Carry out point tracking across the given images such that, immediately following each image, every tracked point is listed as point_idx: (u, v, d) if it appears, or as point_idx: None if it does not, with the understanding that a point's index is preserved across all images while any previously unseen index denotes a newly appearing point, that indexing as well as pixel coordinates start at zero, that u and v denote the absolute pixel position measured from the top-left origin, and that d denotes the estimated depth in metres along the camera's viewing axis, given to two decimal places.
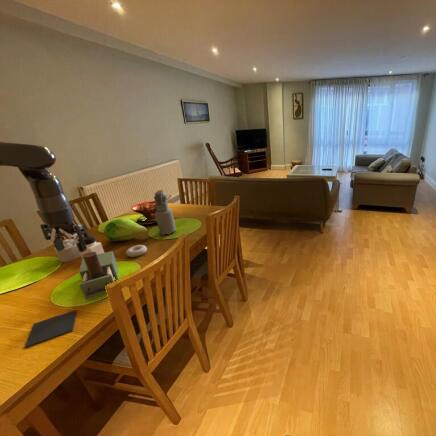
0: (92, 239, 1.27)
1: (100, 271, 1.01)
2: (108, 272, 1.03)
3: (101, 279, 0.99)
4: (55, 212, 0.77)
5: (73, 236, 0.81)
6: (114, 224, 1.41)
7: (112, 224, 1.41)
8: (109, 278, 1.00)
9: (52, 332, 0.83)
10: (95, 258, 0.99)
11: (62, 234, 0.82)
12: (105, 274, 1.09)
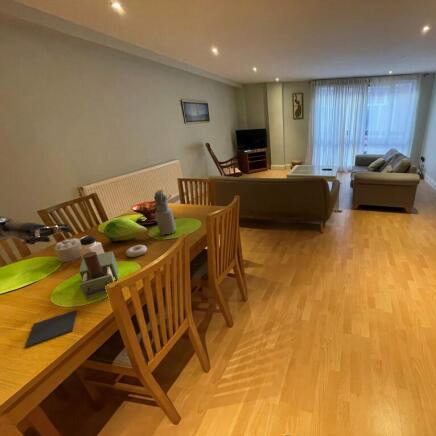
0: (92, 239, 1.27)
1: (100, 271, 1.01)
2: (108, 272, 1.03)
3: (101, 279, 0.99)
4: None
5: None
6: (114, 224, 1.41)
7: (112, 224, 1.41)
8: (109, 278, 1.00)
9: (52, 332, 0.83)
10: (95, 258, 0.99)
11: (46, 230, 0.98)
12: (105, 274, 1.09)
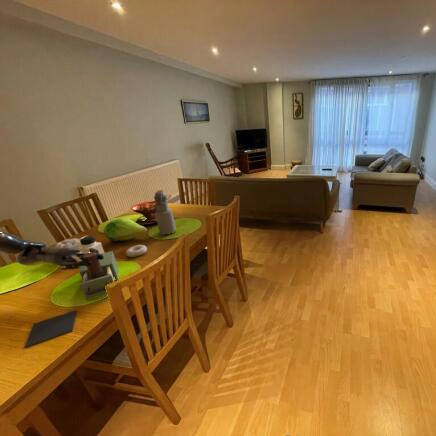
0: (92, 239, 1.27)
1: (100, 271, 1.01)
2: (108, 272, 1.03)
3: (101, 279, 0.99)
4: None
5: None
6: (114, 224, 1.41)
7: (112, 224, 1.41)
8: (109, 278, 1.00)
9: (52, 332, 0.83)
10: (95, 258, 0.99)
11: (80, 256, 1.00)
12: (105, 274, 1.09)
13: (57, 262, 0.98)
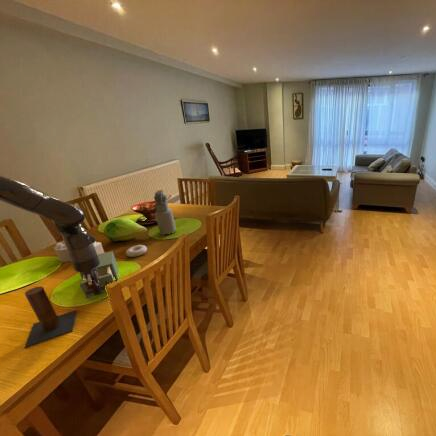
0: (92, 239, 1.27)
1: (49, 310, 0.83)
2: (108, 271, 1.03)
3: (101, 278, 0.99)
4: (74, 263, 0.85)
5: None
6: (114, 224, 1.41)
7: (112, 224, 1.41)
8: (109, 277, 1.01)
9: (52, 332, 0.83)
10: (41, 295, 0.80)
11: None
12: (105, 273, 1.10)
13: None
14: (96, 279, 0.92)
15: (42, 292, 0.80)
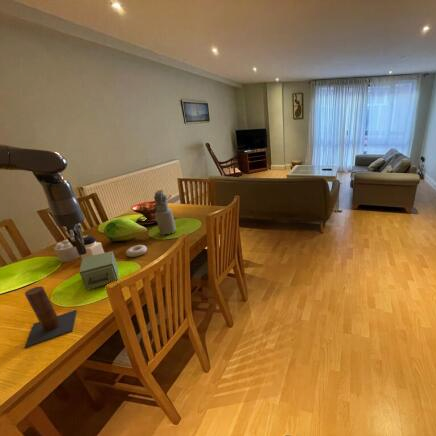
0: (92, 239, 1.27)
1: (49, 310, 0.83)
2: None
3: (102, 270, 1.05)
4: (55, 215, 0.79)
5: None
6: (114, 224, 1.41)
7: (112, 224, 1.41)
8: (109, 269, 1.06)
9: (52, 332, 0.83)
10: (41, 295, 0.80)
11: None
12: None
13: None
14: (80, 237, 0.86)
15: (42, 292, 0.80)
